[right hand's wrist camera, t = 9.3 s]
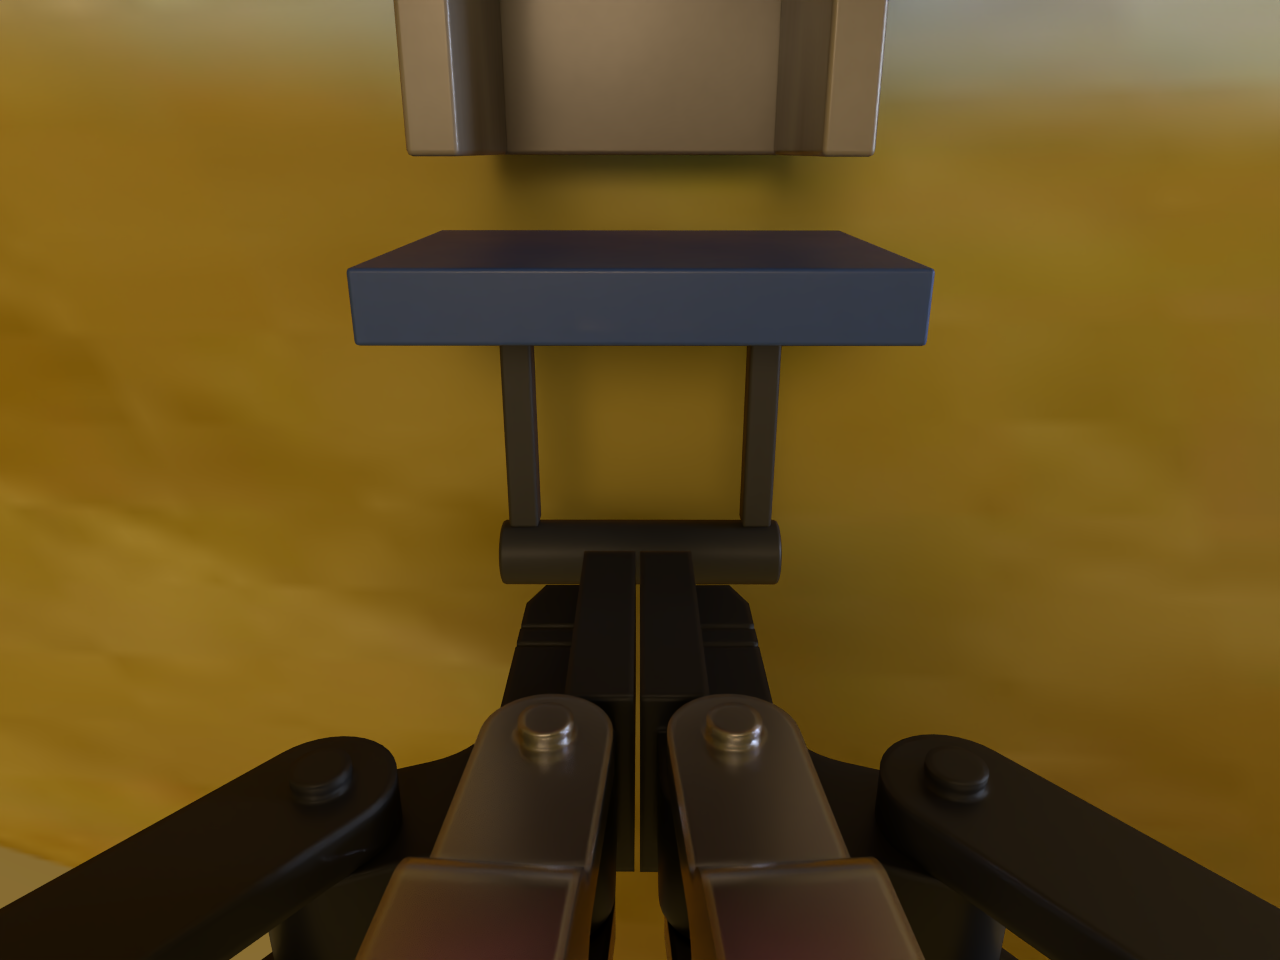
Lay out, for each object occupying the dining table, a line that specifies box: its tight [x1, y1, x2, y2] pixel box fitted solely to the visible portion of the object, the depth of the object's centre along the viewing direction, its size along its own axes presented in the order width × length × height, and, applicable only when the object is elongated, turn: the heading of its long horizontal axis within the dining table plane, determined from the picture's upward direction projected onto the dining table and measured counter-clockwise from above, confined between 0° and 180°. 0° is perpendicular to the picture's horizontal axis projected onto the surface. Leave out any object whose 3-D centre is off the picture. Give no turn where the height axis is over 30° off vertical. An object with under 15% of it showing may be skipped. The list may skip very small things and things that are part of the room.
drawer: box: [347, 0, 935, 584], centre depth 15 cm, size 20×9×7 cm, turn 0°
